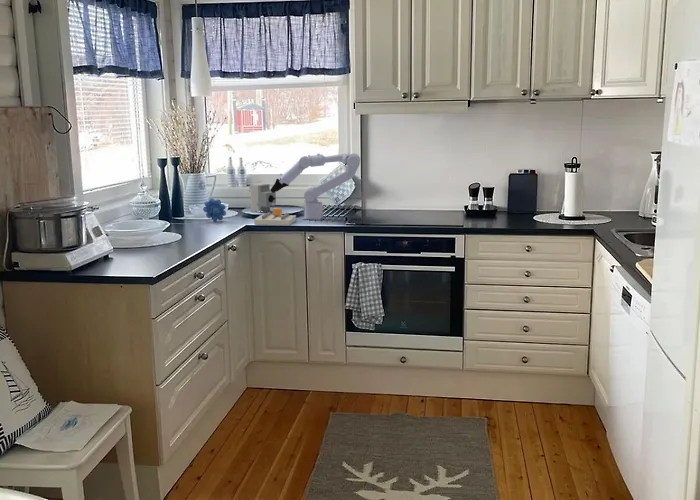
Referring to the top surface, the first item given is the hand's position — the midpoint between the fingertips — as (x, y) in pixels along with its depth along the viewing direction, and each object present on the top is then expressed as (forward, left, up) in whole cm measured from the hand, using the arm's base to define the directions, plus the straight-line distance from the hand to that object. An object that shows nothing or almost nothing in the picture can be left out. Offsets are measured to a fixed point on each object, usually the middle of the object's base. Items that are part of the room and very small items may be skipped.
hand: (273, 190), depth 374 cm
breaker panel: (-4, +11, -14) cm, 19 cm away
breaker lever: (-4, +7, -11) cm, 14 cm away
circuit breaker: (+10, -17, -15) cm, 25 cm away
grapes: (+27, +14, -15) cm, 34 cm away
